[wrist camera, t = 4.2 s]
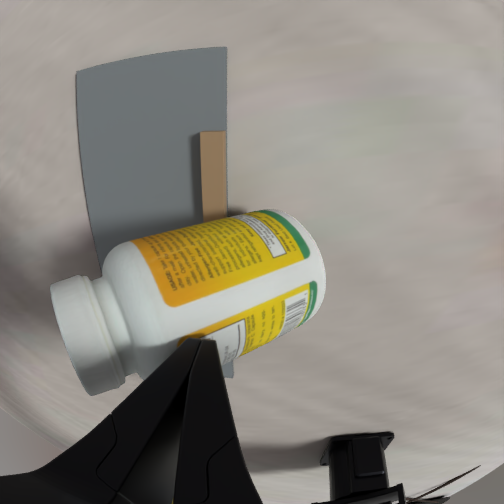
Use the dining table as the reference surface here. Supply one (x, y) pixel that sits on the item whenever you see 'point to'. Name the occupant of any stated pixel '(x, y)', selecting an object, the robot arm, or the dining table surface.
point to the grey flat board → (154, 145)
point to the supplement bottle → (189, 295)
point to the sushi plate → (436, 502)
